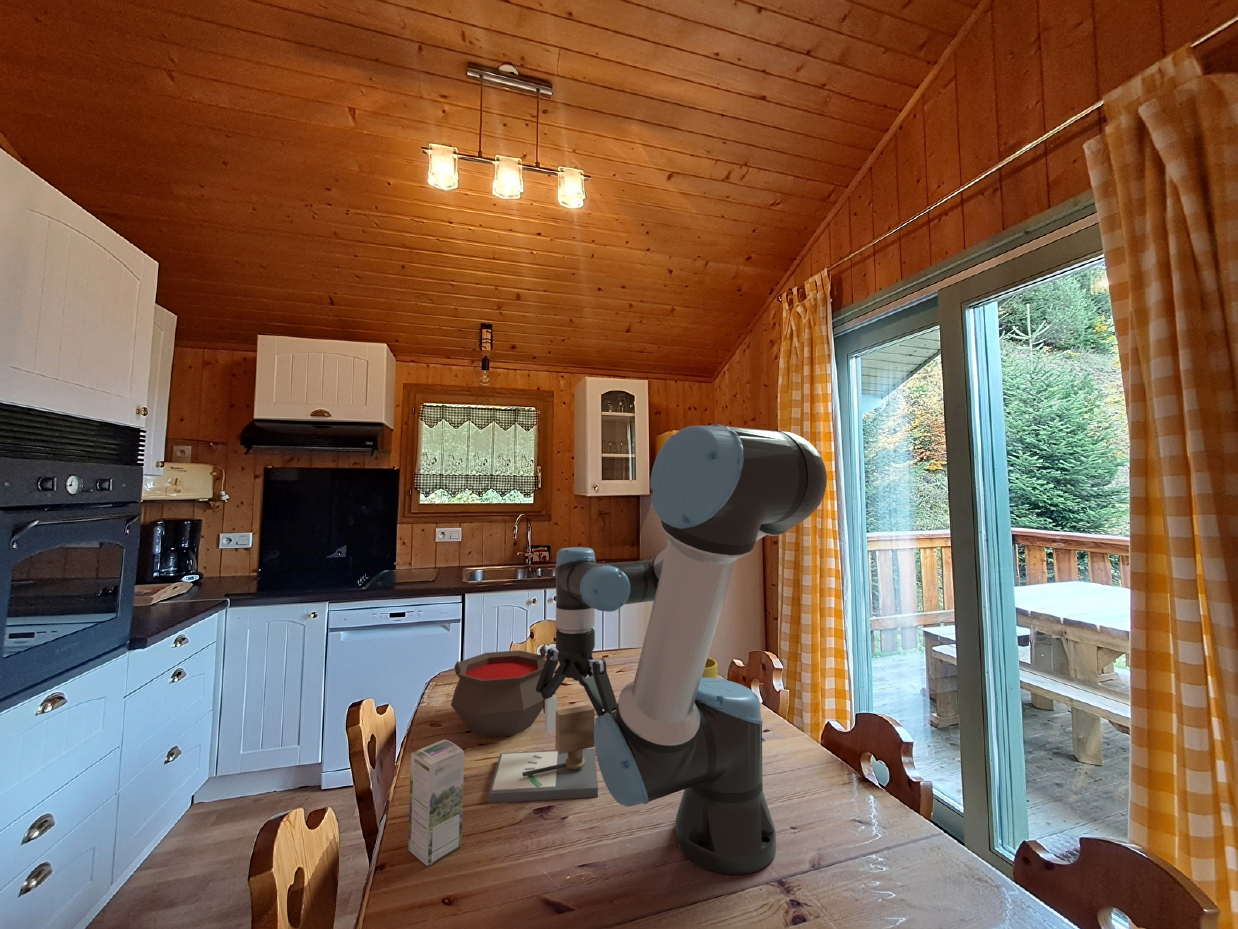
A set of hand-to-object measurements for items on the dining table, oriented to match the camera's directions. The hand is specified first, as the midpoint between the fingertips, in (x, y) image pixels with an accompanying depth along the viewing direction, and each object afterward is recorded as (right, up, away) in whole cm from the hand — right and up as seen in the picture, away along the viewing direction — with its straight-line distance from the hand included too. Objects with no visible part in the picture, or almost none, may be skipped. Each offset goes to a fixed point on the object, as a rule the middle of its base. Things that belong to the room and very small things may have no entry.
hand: (575, 742), depth 96 cm
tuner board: (-5, -6, -1) cm, 8 cm away
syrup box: (-19, -5, -20) cm, 28 cm away
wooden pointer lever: (-3, -4, -2) cm, 5 cm away
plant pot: (+29, -9, +35) cm, 46 cm away
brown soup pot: (-19, -8, +22) cm, 30 cm away
